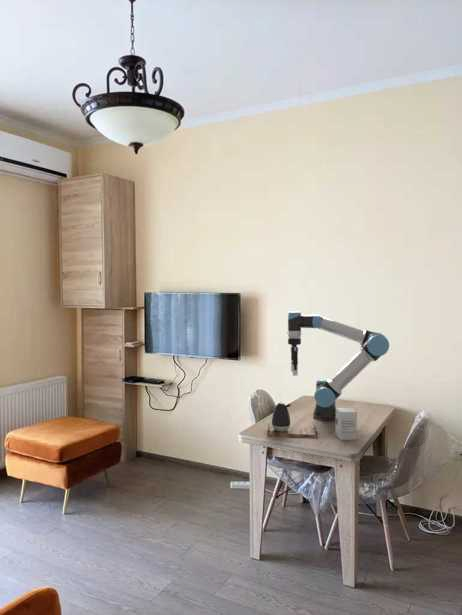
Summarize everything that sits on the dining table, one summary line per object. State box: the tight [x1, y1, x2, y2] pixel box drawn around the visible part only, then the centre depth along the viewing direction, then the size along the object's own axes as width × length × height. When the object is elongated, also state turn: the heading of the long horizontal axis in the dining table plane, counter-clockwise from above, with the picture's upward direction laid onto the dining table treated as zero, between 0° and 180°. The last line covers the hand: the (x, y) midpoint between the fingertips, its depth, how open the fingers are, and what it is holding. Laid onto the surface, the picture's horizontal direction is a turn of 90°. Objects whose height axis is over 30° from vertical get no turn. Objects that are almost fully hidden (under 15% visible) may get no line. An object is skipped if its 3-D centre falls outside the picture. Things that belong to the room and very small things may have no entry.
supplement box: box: [335, 407, 358, 441], centre depth 254 cm, size 9×9×15 cm
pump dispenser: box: [271, 402, 291, 432], centre depth 261 cm, size 10×10×15 cm
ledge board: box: [267, 422, 319, 439], centre depth 260 cm, size 26×12×4 cm, turn 86°
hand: (294, 373), depth 284 cm, fingers open, 13 cm apart
